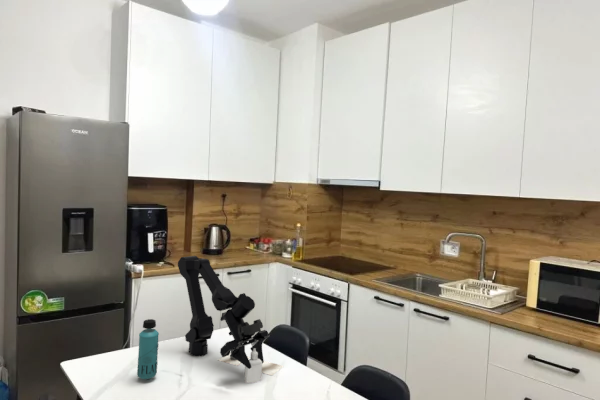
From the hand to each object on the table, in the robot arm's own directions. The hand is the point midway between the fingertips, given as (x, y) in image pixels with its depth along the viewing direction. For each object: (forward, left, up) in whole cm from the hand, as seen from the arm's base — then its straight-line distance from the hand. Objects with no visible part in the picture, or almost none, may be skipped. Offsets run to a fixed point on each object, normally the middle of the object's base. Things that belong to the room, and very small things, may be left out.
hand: (256, 365), depth 137 cm
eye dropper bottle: (-1, 0, -7) cm, 7 cm away
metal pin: (-16, +11, -5) cm, 21 cm away
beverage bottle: (-33, -16, -7) cm, 37 cm away
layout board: (-9, +10, -7) cm, 15 cm away
